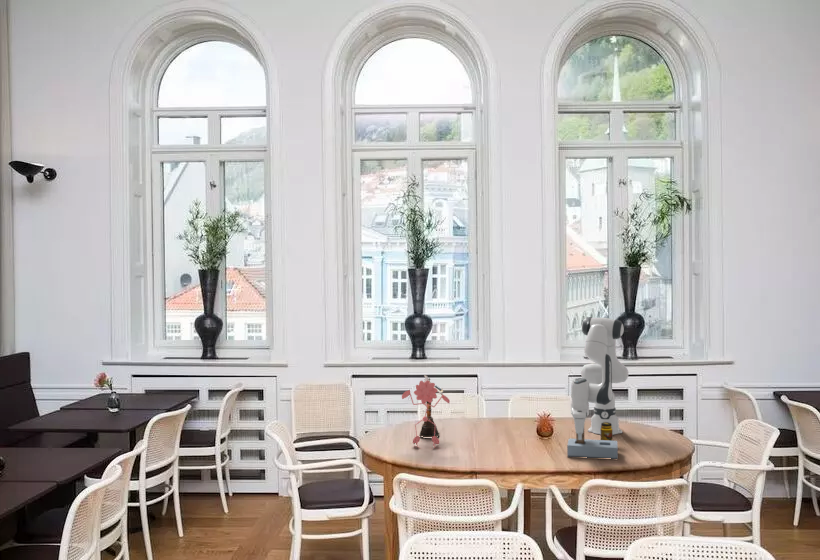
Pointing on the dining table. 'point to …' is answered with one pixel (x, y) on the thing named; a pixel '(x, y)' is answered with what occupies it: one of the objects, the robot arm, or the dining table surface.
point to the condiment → (606, 431)
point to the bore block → (593, 449)
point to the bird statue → (430, 418)
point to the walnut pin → (580, 440)
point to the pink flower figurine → (425, 394)
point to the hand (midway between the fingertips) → (580, 438)
